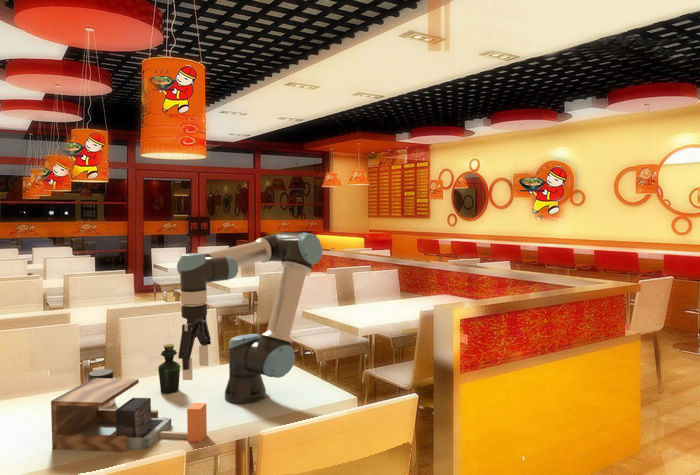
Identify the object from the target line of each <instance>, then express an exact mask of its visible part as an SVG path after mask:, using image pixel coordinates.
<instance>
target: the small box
mask: <svg viewBox="0 0 700 475" xmlns="http://www.w3.org/2000/svg"><path fill="white" fill-rule="evenodd" d="M151 398H152V397H132V398H130V399H129V400H128V401H126V402H125V403H124V404H122V405H121V406H119V407H118V408H116V409H117V410H116V423H115V426H116V427H115V428H116V429H115V431H116V436H127V437H133V438H144V437H145V436H147V435H148V434H149V433H150V432H151V431H152V430H153V427H152V423H151V410H152V401H151V400H152V399H151Z"/></svg>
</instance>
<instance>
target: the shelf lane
mask: <svg viewBox="0 0 700 475" xmlns="http://www.w3.org/2000/svg"><path fill="white" fill-rule="evenodd" d="M139 381H140V380H139V378H137V379H136V378H115V379H110V378H93V379H91V380H89V381H88V380H87V381H86V382H84V383H82V384H79V385H78V386H75V388H73V389H70V390H69V391H67V392H65V393H63V394H61V395H59V396H57V397H56V398H54V399H52V400H51V401H50V406H51V407H50V412H51V413H50V414H51V415H50V418H51V448H52V450H72V451H73V450H74V451H91V452H92V451H94V452H95V451H96V452H114V453H115V452H116V453H117V452H118V453H119V452H121V453H122V452H123V453H125V452H126V451H127V450H128V448H127V436H113V435H111V434H109V435H108V434H107V435H106V434H89V433H88V434H85V433H83V432H85V431H86V430H87V429H88V428H90V427H92V426H93V425H95V424H96V423H111V424H112V423H114V424H116V410H117V409H118V408H103V409H100V408H99V407H102V406H104V405H105V404H107V403H108V402H110V401H111V400H113V399H114V398H115V399H116V398H117V397H119V396H121V395H122V394H124V393H126V392H127V391H129V390H130V389H132V388H133V387H135V386H136V385H138V384H139ZM151 418H159V410H158V409H156V410H155V409H151Z"/></svg>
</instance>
